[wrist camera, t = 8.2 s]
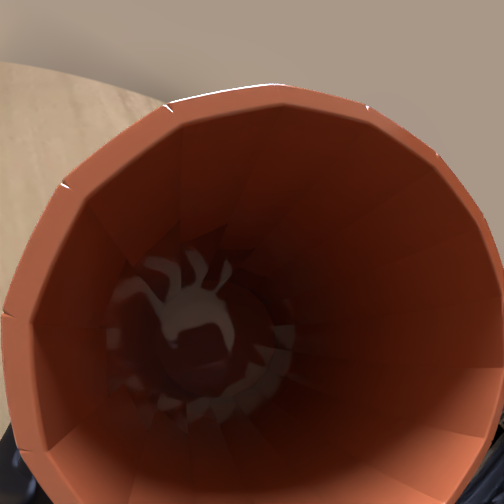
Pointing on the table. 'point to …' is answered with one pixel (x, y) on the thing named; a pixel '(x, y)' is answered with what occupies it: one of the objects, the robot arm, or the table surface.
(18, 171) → the table surface
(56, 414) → the tumbler
